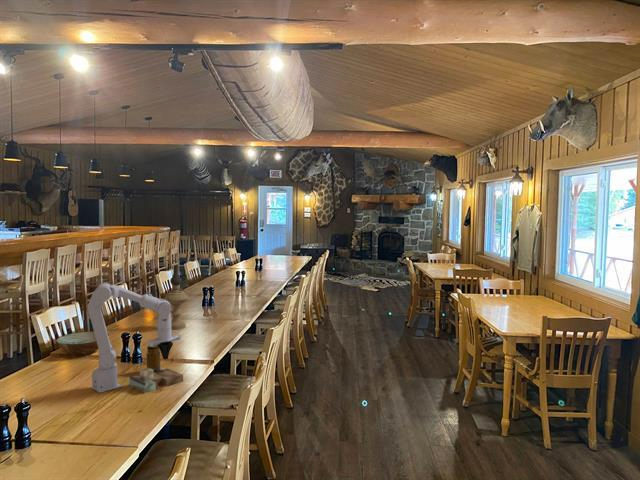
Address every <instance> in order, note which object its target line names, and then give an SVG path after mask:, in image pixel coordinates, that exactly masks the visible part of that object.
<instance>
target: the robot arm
mask: <svg viewBox="0 0 640 480" xmlns="http://www.w3.org/2000/svg"><path fill="white" fill-rule="evenodd" d="M111 297H112V299H115V298H116V299H117V298H124V299H126V300H128V301H132V302H136V303H138V304H139V306H140V307H142V308H144V309H147V310H149V311H152V312H157V338H154V339H152V340H149V341H148V342H147V343H148V344H147V345H148V346H153V345H157V346H158V347H159V351H160V355H161V356H162V359H163V360H164V361H165V360H168V358H169V356H170V352H171V350H172V347H173V345H174V342H175V341H180V340H182V339H181V334H174V335H172V334H173V333H172V332H173V331H172V330H171V321H172V311H173V310H172V304H170V303H169V302H168V301H166V300H164V298H158V297H155V296H153V295H152V294H151V293H145V294H142V295H141V294H138V293H136V292H134V291H131V290H129V289H126V288H124V287H122V286H119V285H116V284H110V283H109V282H102V283H100V284H99V285H98V286H97V287H96V288H95V289H94V291H93V293H92V294H91V297H90V299H89V301H88V303H87V311H88V314H89V318H90V322H91V326H92V330H93V331H94V333H95V337H96V341H97V344H98V350H97V351H98V357H99V359H98V367H97V368H96V369H94V370H92V372H91V384H92V385H91V389H93V390H94V391H96V392H97V393H101V394H102V393H104V392H108V391H111V390H114V389H118V388H121V387H122V384H119V382H118V364H117V362H116V358H117V352H116V350H115V349H114V348H113V346H112V343H111V341H110V338H109V336H108V334H109V333H108V330H107V326H106V324H105V323H106V322H105V319H104V315H103V312H102V306H103V305H104V303H105V302H107V301H108V300H110V298H111ZM173 341H174V342H173ZM148 346H147V347H148Z"/></svg>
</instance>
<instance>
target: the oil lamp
mask: <svg viewBox="0 0 640 480" xmlns="http://www.w3.org/2000/svg"><path fill="white" fill-rule="evenodd" d="M178 266H179V265H177V264H175V265H173V273H172V276H171V279H170V280H169V281H170V284H171V286H172V290H171V291H169V292H168V293H167V294H166V295H165V296H164V297H163V300H166V301H168V302H169V303H170V305H171V306H172V307H173V310H172V311H171V316H172V318H171V331H175V330H176V331H179V330H184V329H185V328H186V323H185V321H183V320H182V319H181V315H182V311H181V310H180V306H181V305H182V304H184V303H186V302H187V301H188V299H189V296H188V295H187V294H186V293H185V292H184V291H183V288H180V284H181V283H182V278H181V277H180V275H179V269H178Z"/></svg>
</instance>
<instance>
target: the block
mask: <svg viewBox="0 0 640 480" xmlns="http://www.w3.org/2000/svg"><path fill="white" fill-rule="evenodd" d="M139 376H140V380H142V381H149V380H152V379H154V375H153V370H152V369H150V368H147V367H146V368H141V369H140V370H139Z"/></svg>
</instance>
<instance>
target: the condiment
mask: <svg viewBox="0 0 640 480" xmlns="http://www.w3.org/2000/svg"><path fill="white" fill-rule="evenodd" d="M146 348H147V349H146V350H147V352H146V368H150V369H152V370H153V372H154V373H156V374H159V373H161V370H163V369H166V368H167V367H164V368H163V367H161V351H160V349H159V347H158V346H157V345H153V346H147V347H146Z"/></svg>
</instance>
